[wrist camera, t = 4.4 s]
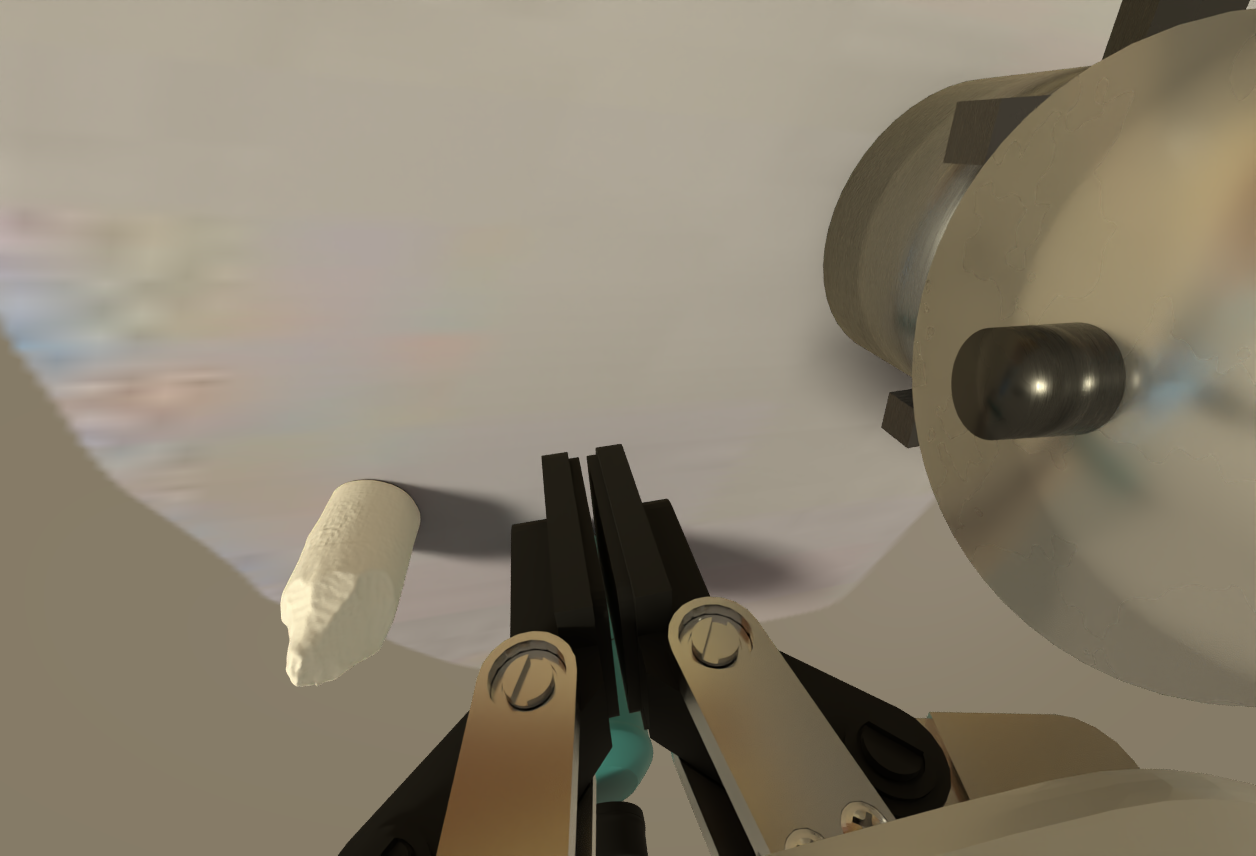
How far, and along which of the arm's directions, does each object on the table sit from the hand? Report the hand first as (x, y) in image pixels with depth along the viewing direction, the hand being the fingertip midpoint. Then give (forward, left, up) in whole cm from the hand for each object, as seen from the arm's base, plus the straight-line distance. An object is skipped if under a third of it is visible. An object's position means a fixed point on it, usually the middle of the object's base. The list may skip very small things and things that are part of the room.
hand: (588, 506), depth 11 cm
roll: (+14, -13, -20) cm, 28 cm away
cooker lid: (0, +15, -2) cm, 16 cm away
